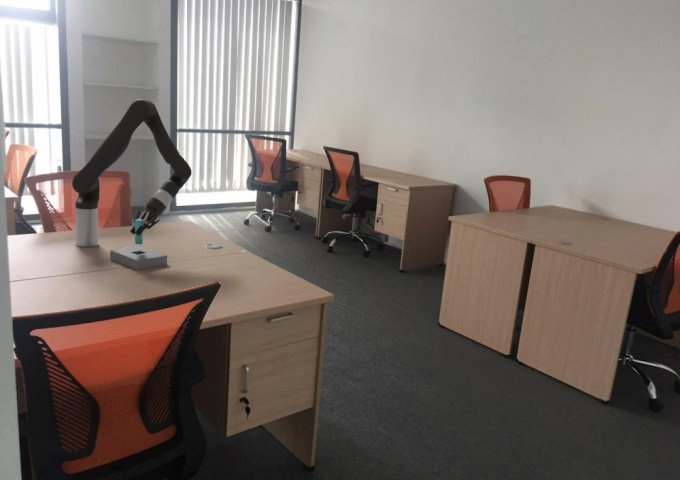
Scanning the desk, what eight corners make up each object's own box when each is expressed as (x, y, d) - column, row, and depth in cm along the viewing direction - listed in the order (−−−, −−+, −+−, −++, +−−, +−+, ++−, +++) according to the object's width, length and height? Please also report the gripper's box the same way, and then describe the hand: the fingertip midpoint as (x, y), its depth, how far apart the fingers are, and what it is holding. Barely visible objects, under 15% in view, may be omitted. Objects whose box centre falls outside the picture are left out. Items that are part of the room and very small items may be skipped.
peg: (133, 243, 247) (133, 219, 244) (139, 242, 249) (139, 219, 247) (137, 244, 245) (137, 221, 243) (144, 243, 247) (144, 220, 245)
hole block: (110, 259, 249) (110, 250, 248) (139, 254, 260) (139, 245, 259) (137, 270, 238) (137, 260, 237) (167, 264, 248) (167, 255, 247)
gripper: (144, 194, 252) (119, 225, 246) (164, 199, 244) (138, 231, 238) (155, 205, 258) (130, 235, 251) (174, 210, 250) (150, 242, 243)
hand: (134, 233), depth 244 cm, fingers closed on peg, 3 cm apart
